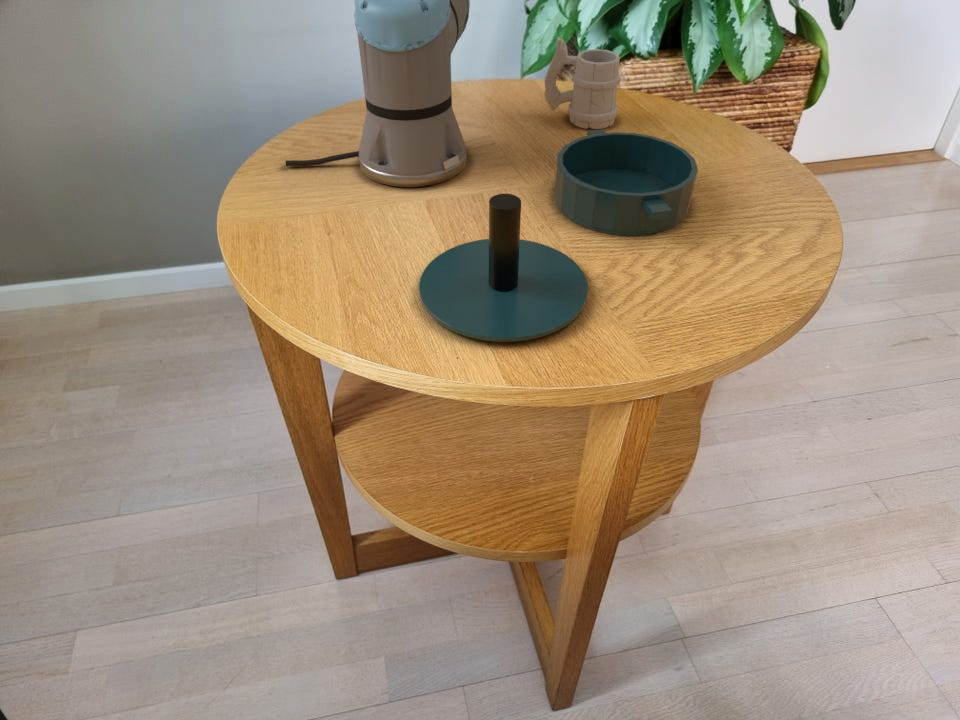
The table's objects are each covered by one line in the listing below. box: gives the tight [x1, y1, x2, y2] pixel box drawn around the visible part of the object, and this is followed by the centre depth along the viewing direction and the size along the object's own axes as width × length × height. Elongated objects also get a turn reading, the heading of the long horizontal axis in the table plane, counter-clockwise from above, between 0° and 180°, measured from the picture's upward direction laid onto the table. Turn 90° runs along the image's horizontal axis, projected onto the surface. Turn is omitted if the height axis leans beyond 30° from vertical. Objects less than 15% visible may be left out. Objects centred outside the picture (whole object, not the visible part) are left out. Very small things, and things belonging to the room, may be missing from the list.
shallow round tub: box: [554, 128, 699, 237], centre depth 90 cm, size 17×23×6 cm
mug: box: [544, 36, 621, 130], centre depth 107 cm, size 8×12×12 cm, turn 77°
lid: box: [418, 193, 589, 343], centre depth 73 cm, size 18×18×11 cm
